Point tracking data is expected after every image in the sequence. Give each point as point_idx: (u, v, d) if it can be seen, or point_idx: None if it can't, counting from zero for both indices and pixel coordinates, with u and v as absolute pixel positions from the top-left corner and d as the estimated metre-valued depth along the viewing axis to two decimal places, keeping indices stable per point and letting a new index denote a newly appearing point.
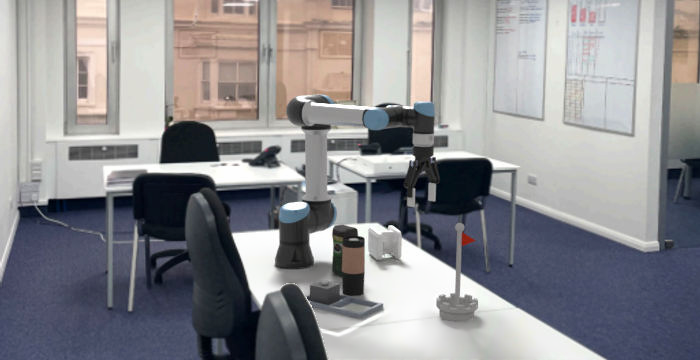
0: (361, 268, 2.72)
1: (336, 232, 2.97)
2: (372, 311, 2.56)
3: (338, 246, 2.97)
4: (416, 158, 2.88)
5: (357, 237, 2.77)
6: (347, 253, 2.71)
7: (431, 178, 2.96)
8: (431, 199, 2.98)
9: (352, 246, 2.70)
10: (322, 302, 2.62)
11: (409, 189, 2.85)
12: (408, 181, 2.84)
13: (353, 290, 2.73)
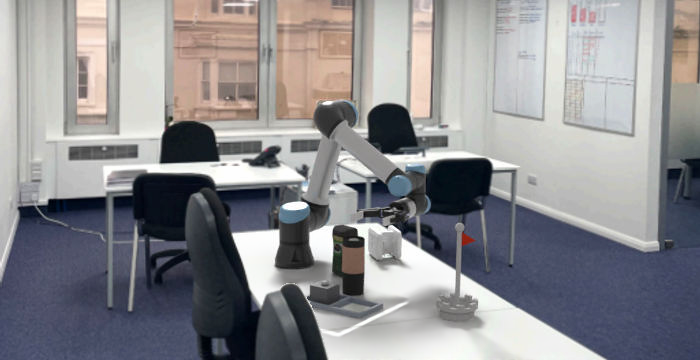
0: (361, 268, 2.72)
1: (336, 232, 2.97)
2: (372, 311, 2.56)
3: (338, 246, 2.97)
4: (403, 212, 2.91)
5: (357, 237, 2.77)
6: (347, 253, 2.71)
7: (367, 214, 2.90)
8: (353, 218, 2.84)
9: (352, 246, 2.70)
10: (322, 302, 2.62)
11: (397, 220, 2.80)
12: (405, 219, 2.82)
13: (353, 290, 2.73)
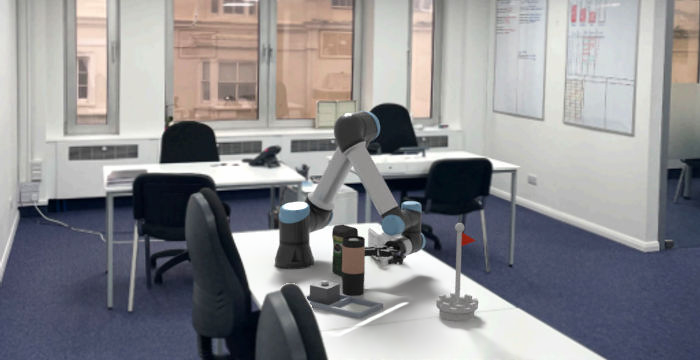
0: (361, 268, 2.72)
1: (336, 232, 2.97)
2: (372, 311, 2.56)
3: (338, 246, 2.97)
4: (399, 251, 2.91)
5: (357, 237, 2.77)
6: (347, 253, 2.71)
7: None
8: None
9: (352, 246, 2.70)
10: (322, 302, 2.62)
11: (395, 261, 2.80)
12: (402, 260, 2.82)
13: (353, 290, 2.73)
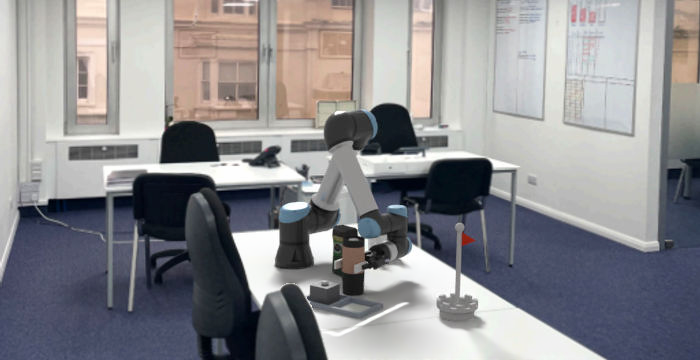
0: None
1: (336, 232, 2.97)
2: (372, 311, 2.56)
3: (338, 246, 2.97)
4: (384, 257, 2.83)
5: (357, 237, 2.77)
6: (347, 253, 2.71)
7: None
8: (337, 265, 2.73)
9: (353, 246, 2.70)
10: (322, 302, 2.62)
11: (369, 266, 2.73)
12: (378, 266, 2.74)
13: (353, 290, 2.73)
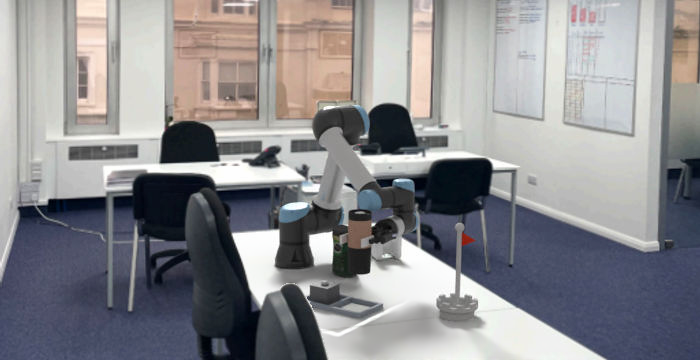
0: None
1: (336, 232, 2.97)
2: (372, 311, 2.56)
3: (338, 246, 2.97)
4: None
5: (363, 210, 2.64)
6: (353, 226, 2.58)
7: None
8: (342, 240, 2.60)
9: (359, 220, 2.57)
10: (322, 302, 2.62)
11: (376, 241, 2.60)
12: (385, 240, 2.61)
13: (359, 265, 2.59)
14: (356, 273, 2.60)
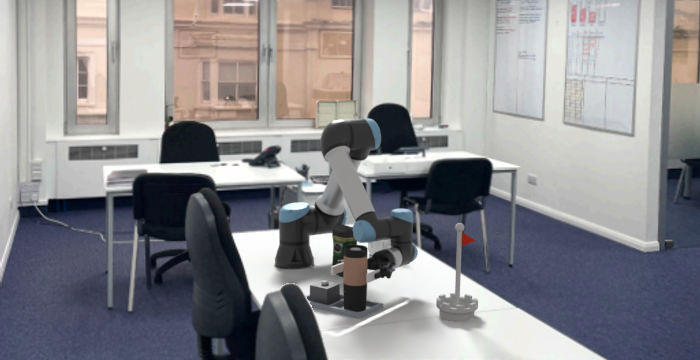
0: (363, 279, 2.55)
1: (336, 232, 2.97)
2: (372, 311, 2.56)
3: (338, 246, 2.97)
4: (388, 264, 2.66)
5: (359, 246, 2.59)
6: (349, 263, 2.54)
7: None
8: (334, 271, 2.59)
9: (354, 257, 2.53)
10: (322, 302, 2.62)
11: (382, 275, 2.55)
12: (390, 274, 2.57)
13: (355, 303, 2.55)
14: (351, 310, 2.56)
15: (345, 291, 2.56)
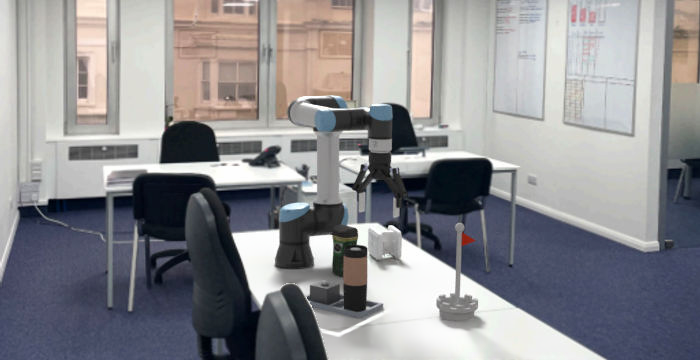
0: (363, 279, 2.55)
1: (336, 232, 2.97)
2: (372, 311, 2.56)
3: (338, 246, 2.97)
4: None
5: (359, 246, 2.59)
6: (349, 263, 2.54)
7: None
8: None
9: (354, 257, 2.53)
10: (322, 302, 2.62)
11: None
12: None
13: (355, 303, 2.55)
14: (351, 310, 2.56)
15: (345, 291, 2.56)
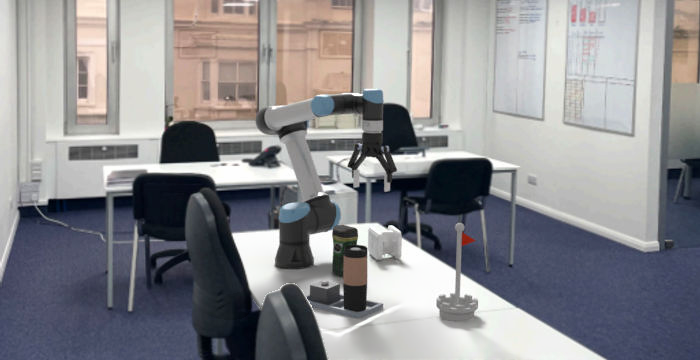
0: (363, 279, 2.55)
1: (336, 232, 2.97)
2: (372, 311, 2.56)
3: (338, 246, 2.97)
4: None
5: (359, 246, 2.59)
6: (349, 263, 2.54)
7: None
8: None
9: (354, 257, 2.53)
10: (322, 302, 2.62)
11: None
12: None
13: (355, 303, 2.55)
14: (351, 310, 2.56)
15: (345, 291, 2.56)
